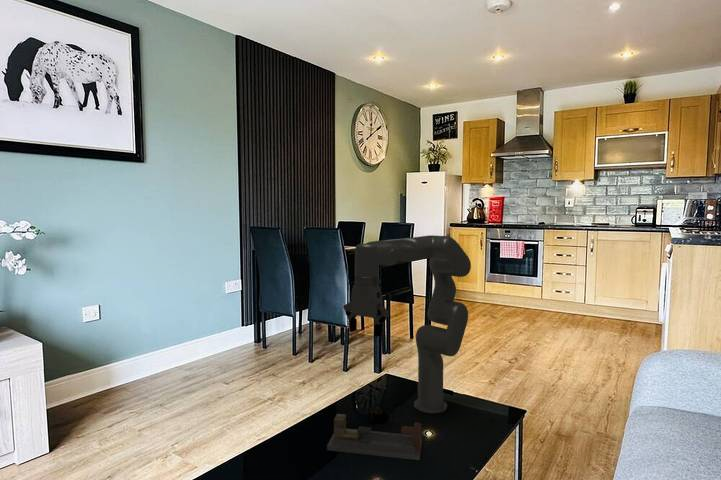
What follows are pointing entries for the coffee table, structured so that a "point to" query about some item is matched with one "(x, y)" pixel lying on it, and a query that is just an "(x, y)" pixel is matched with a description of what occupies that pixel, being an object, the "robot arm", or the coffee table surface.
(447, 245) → the robot arm
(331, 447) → the rail
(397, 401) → the coffee table surface
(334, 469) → the coffee table surface
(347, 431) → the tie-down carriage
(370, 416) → the tape measure
